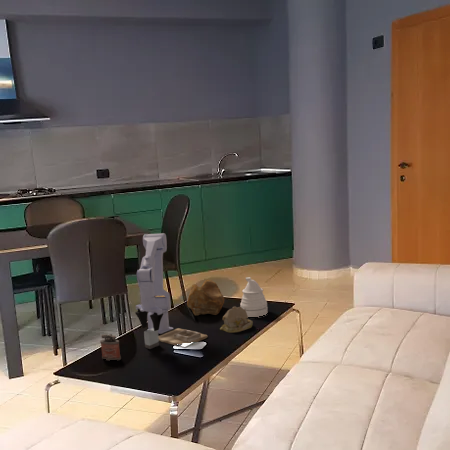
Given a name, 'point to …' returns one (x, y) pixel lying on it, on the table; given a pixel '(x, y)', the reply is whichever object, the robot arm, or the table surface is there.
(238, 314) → the ceramic model
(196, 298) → the rough brown rock
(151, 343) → the peg
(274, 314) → the table surface
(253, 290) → the honey pot
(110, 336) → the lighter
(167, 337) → the birch board
